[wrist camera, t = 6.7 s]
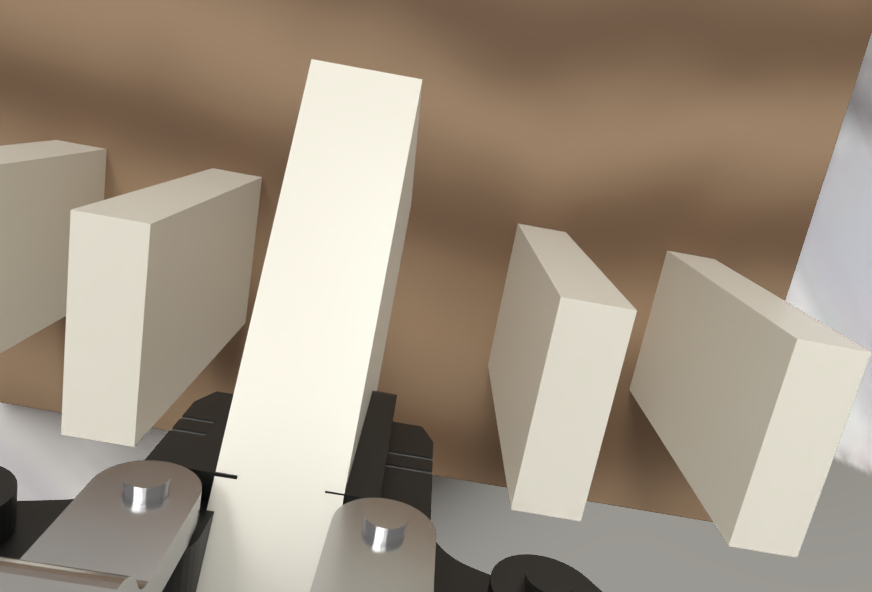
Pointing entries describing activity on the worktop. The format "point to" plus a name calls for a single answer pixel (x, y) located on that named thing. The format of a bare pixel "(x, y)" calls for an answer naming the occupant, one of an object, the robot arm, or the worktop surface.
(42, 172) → the domino
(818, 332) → the domino
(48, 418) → the worktop surface
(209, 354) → the domino
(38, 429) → the worktop surface
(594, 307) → the domino
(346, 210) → the domino
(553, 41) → the cutting board
